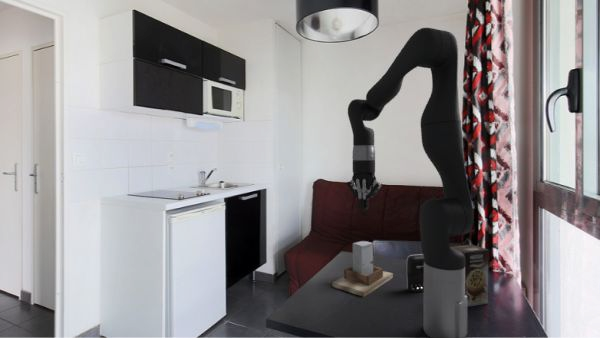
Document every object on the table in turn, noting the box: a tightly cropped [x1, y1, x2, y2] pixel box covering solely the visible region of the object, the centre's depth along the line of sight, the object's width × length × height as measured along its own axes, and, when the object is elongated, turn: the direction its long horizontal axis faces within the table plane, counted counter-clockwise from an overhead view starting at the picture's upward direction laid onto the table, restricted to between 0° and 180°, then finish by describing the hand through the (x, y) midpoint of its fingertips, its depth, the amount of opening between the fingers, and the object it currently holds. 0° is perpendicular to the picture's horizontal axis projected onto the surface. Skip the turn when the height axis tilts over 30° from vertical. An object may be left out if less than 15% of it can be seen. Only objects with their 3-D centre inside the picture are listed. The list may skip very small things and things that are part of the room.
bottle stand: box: [331, 265, 394, 298], centre depth 110 cm, size 12×20×4 cm, turn 139°
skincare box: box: [352, 240, 374, 275], centre depth 110 cm, size 6×4×12 cm
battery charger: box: [405, 253, 424, 293], centre depth 103 cm, size 7×4×11 cm, turn 101°
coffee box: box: [450, 244, 490, 308], centre depth 95 cm, size 9×6×16 cm
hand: (364, 209), depth 110 cm, fingers closed
